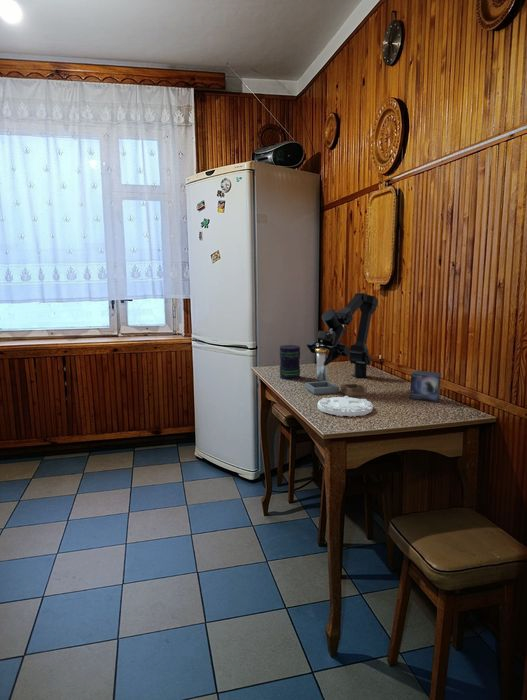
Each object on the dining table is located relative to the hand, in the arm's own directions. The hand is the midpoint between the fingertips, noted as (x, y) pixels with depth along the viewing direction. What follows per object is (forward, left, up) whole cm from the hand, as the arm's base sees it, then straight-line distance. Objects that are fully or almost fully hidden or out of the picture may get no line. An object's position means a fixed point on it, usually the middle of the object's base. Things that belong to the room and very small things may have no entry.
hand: (320, 364), depth 196 cm
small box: (+23, +35, -12) cm, 44 cm away
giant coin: (+27, -1, -12) cm, 30 cm away
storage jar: (-29, -4, -12) cm, 31 cm away
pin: (-1, +1, -7) cm, 7 cm away
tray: (-1, +1, -11) cm, 12 cm away
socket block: (+7, +12, -11) cm, 18 cm away
